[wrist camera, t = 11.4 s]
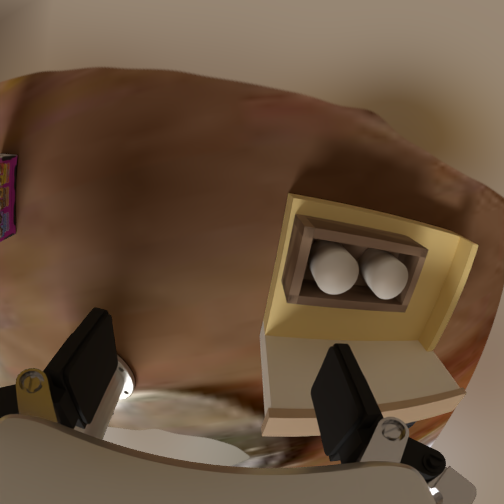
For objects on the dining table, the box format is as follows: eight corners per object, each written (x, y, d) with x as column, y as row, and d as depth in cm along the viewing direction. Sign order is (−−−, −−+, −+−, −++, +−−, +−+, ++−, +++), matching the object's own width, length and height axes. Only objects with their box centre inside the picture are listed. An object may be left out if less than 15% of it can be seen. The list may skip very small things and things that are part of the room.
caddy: (387, 292, 27) (406, 314, 22) (281, 280, 26) (287, 305, 21) (406, 235, 24) (431, 251, 20) (295, 213, 24) (306, 227, 19)
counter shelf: (408, 343, 33) (452, 410, 20) (256, 337, 32) (261, 435, 19) (452, 231, 27) (530, 276, 14) (285, 192, 26) (324, 234, 13)
